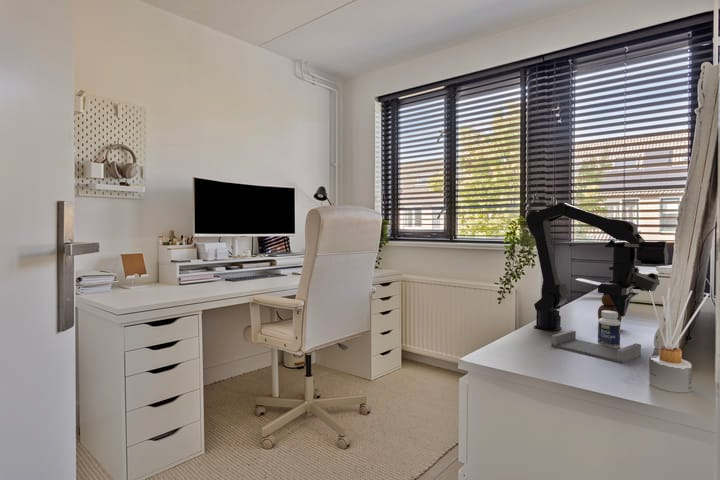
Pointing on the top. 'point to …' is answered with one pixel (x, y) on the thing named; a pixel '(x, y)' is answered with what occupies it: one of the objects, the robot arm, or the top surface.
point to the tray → (595, 348)
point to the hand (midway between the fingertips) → (622, 316)
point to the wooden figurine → (607, 306)
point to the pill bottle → (609, 329)
